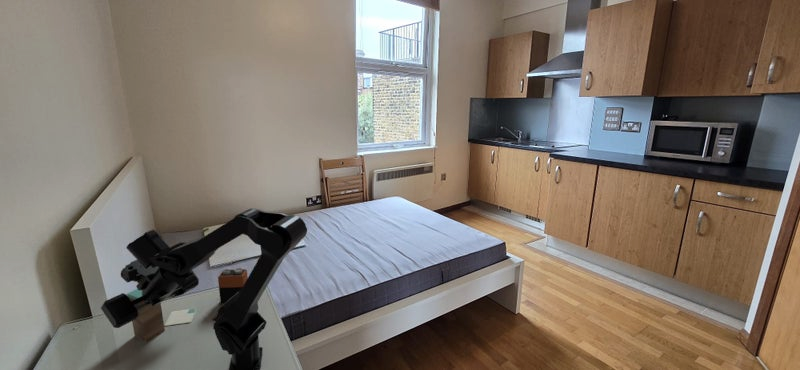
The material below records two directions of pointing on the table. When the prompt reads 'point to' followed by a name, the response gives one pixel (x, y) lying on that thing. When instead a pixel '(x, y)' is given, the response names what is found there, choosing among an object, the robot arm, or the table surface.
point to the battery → (231, 283)
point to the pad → (180, 317)
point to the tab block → (147, 319)
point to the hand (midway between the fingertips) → (142, 308)
